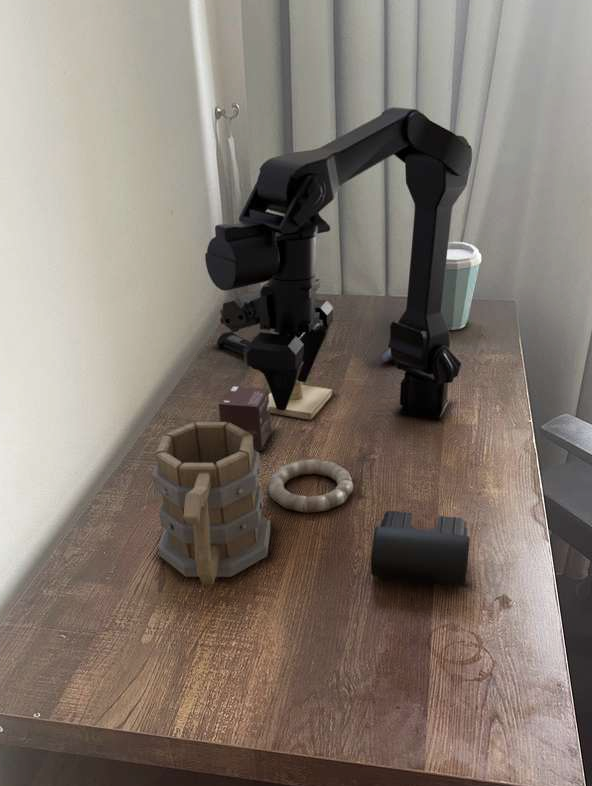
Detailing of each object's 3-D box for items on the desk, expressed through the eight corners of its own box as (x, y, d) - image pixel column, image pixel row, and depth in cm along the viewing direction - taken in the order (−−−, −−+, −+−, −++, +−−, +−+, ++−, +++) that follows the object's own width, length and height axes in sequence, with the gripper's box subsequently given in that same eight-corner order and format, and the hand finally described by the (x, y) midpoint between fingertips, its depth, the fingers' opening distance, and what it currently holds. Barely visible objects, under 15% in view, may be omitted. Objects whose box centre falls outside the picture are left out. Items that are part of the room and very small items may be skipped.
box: (261, 452, 107) (258, 406, 103) (221, 448, 108) (217, 403, 104) (272, 432, 112) (269, 387, 108) (233, 429, 113) (229, 385, 109)
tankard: (174, 513, 94) (158, 408, 86) (273, 513, 94) (266, 407, 86) (138, 623, 77) (114, 506, 69) (258, 624, 77) (248, 505, 69)
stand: (331, 395, 121) (331, 355, 118) (311, 420, 115) (309, 377, 111) (281, 388, 124) (279, 347, 121) (258, 411, 118) (255, 369, 114)
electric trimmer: (266, 373, 130) (266, 356, 128) (215, 347, 140) (214, 331, 138) (283, 367, 132) (282, 350, 131) (231, 342, 142) (230, 326, 140)
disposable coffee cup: (480, 334, 142) (488, 255, 134) (424, 335, 143) (428, 257, 135) (470, 314, 151) (477, 240, 143) (418, 315, 152) (422, 241, 143)
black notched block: (370, 592, 81) (371, 542, 77) (379, 552, 86) (380, 505, 83) (463, 604, 79) (468, 554, 75) (465, 562, 85) (471, 514, 81)
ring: (363, 477, 100) (363, 465, 99) (334, 522, 92) (334, 509, 91) (289, 463, 104) (288, 451, 103) (255, 505, 95) (254, 492, 94)
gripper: (253, 250, 97) (256, 362, 105) (197, 290, 82) (206, 417, 90) (335, 257, 95) (332, 371, 103) (293, 299, 79) (294, 429, 87)
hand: (292, 394), depth 96 cm, fingers open, 9 cm apart
